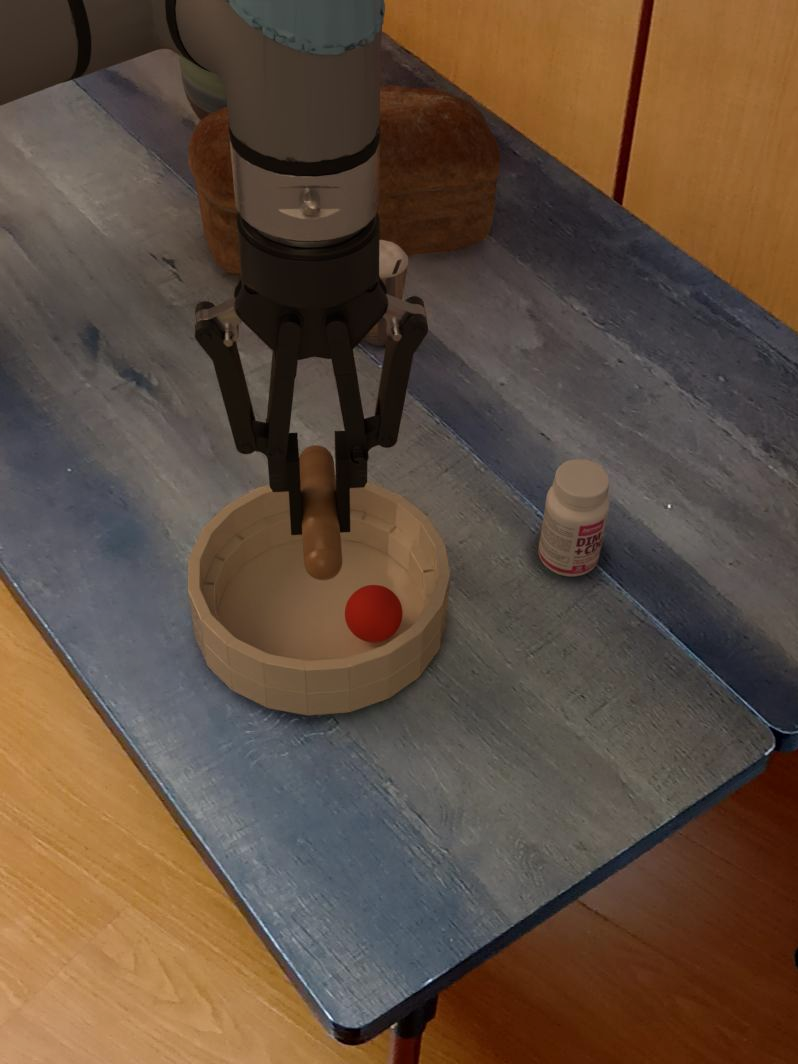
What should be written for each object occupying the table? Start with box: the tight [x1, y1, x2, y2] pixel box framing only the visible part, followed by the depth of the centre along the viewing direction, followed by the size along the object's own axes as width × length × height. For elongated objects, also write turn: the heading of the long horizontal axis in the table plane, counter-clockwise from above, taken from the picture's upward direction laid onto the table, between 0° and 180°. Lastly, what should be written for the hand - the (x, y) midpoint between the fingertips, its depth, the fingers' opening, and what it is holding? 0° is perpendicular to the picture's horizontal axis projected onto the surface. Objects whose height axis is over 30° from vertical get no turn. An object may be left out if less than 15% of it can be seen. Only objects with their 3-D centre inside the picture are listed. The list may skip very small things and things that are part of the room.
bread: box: [187, 85, 501, 276], centre depth 121 cm, size 12×28×14 cm, turn 111°
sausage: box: [299, 444, 343, 580], centre depth 86 cm, size 11×2×2 cm, turn 10°
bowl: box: [187, 475, 451, 716], centre depth 93 cm, size 18×18×6 cm
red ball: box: [345, 585, 403, 642], centre depth 92 cm, size 4×4×4 cm
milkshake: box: [363, 240, 409, 347], centre depth 113 cm, size 4×5×10 cm
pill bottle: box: [537, 458, 611, 577], centre depth 98 cm, size 5×5×8 cm
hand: (319, 518), depth 87 cm, fingers closed on sausage, 2 cm apart
